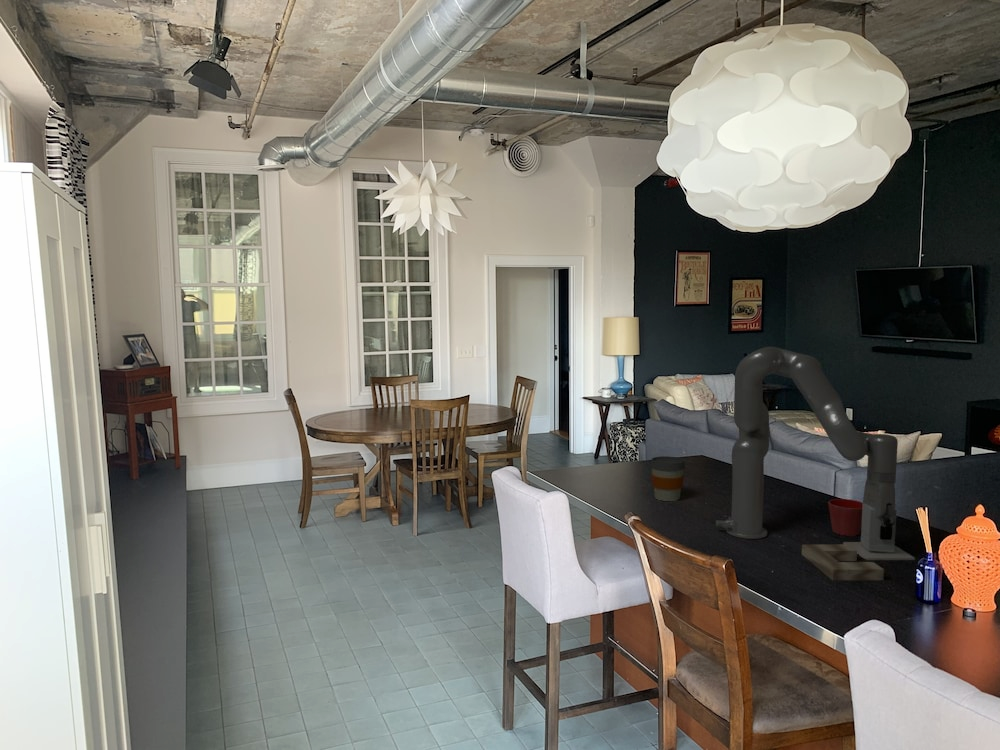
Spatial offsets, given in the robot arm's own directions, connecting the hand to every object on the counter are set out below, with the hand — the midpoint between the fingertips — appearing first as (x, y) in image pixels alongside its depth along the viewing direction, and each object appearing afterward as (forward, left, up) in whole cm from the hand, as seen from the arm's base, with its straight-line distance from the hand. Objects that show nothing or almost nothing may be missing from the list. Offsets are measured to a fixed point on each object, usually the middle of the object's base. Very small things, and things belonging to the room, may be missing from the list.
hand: (878, 534), depth 216 cm
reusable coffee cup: (-49, +59, -6) cm, 77 cm away
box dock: (-17, -12, -5) cm, 21 cm away
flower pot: (-1, +18, -6) cm, 19 cm away
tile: (0, 0, -5) cm, 5 cm away
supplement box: (0, 0, -4) cm, 4 cm away
